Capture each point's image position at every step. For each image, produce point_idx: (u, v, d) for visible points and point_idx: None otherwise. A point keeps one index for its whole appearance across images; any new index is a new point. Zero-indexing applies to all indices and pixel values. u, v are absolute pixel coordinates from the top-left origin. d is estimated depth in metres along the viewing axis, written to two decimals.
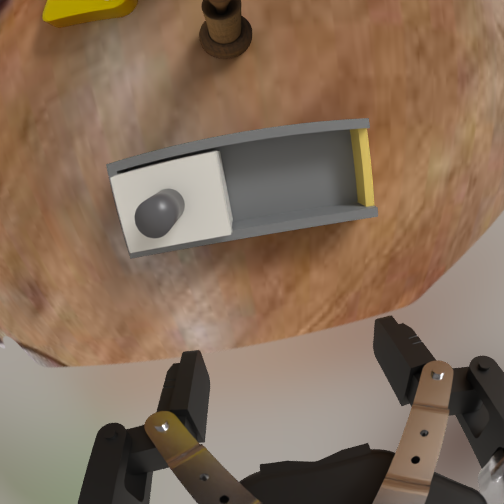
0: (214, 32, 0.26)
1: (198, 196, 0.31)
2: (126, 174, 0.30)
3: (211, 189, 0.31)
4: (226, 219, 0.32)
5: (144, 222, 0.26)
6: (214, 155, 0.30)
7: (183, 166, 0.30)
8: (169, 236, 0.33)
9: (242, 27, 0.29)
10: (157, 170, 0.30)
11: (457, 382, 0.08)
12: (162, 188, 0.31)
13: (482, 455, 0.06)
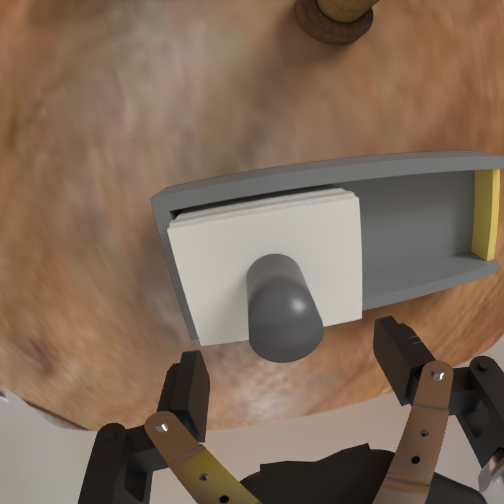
0: (343, 1, 0.14)
1: (325, 267, 0.19)
2: (199, 226, 0.18)
3: (346, 256, 0.19)
4: (360, 299, 0.20)
5: (268, 340, 0.14)
6: (357, 203, 0.18)
7: (306, 218, 0.18)
8: None
9: None
10: (259, 222, 0.18)
11: (457, 382, 0.08)
12: (266, 253, 0.19)
13: (482, 455, 0.06)
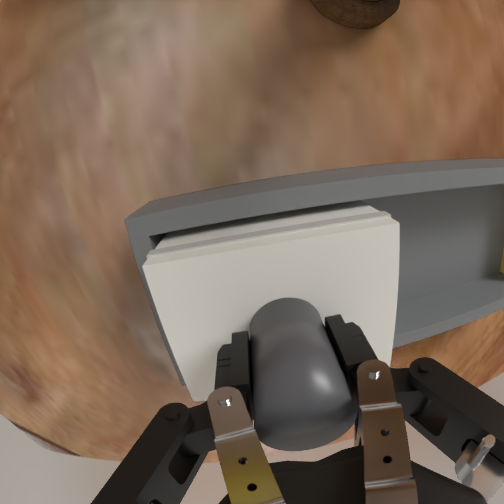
0: None
1: (351, 311, 0.14)
2: (185, 262, 0.13)
3: (379, 297, 0.14)
4: (390, 345, 0.15)
5: (281, 431, 0.09)
6: (397, 229, 0.13)
7: (331, 251, 0.13)
8: None
9: None
10: (267, 257, 0.13)
11: (396, 382, 0.09)
12: (276, 297, 0.14)
13: (449, 449, 0.07)
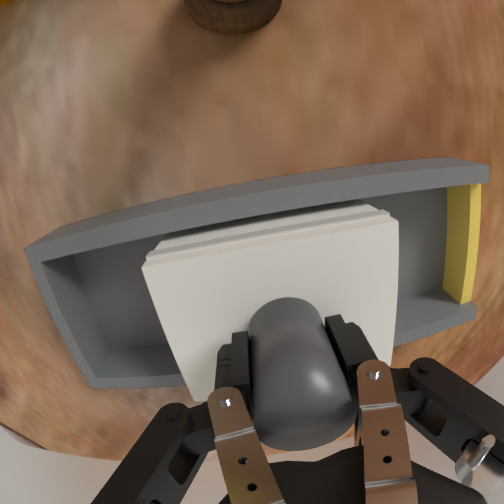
0: None
1: (351, 311, 0.14)
2: (184, 262, 0.13)
3: (378, 296, 0.14)
4: (390, 344, 0.15)
5: (281, 431, 0.09)
6: (396, 228, 0.13)
7: (329, 250, 0.13)
8: None
9: None
10: (266, 257, 0.13)
11: (396, 382, 0.09)
12: (275, 297, 0.14)
13: (449, 449, 0.07)
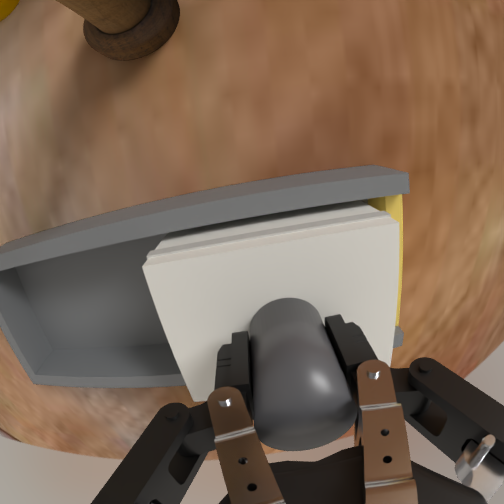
0: (81, 15, 0.10)
1: (352, 311, 0.14)
2: (185, 262, 0.13)
3: (379, 297, 0.14)
4: (390, 345, 0.15)
5: (281, 431, 0.09)
6: (397, 229, 0.13)
7: (330, 251, 0.13)
8: None
9: None
10: (267, 257, 0.13)
11: (396, 382, 0.09)
12: (276, 297, 0.14)
13: (449, 449, 0.07)
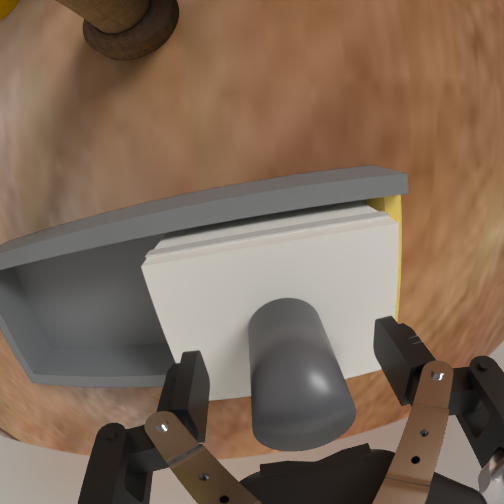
0: (80, 14, 0.10)
1: (350, 312, 0.14)
2: (183, 262, 0.13)
3: (378, 298, 0.14)
4: None
5: (279, 432, 0.09)
6: (396, 230, 0.13)
7: (329, 251, 0.13)
8: None
9: None
10: (266, 257, 0.13)
11: (457, 382, 0.08)
12: (275, 297, 0.14)
13: (482, 455, 0.06)
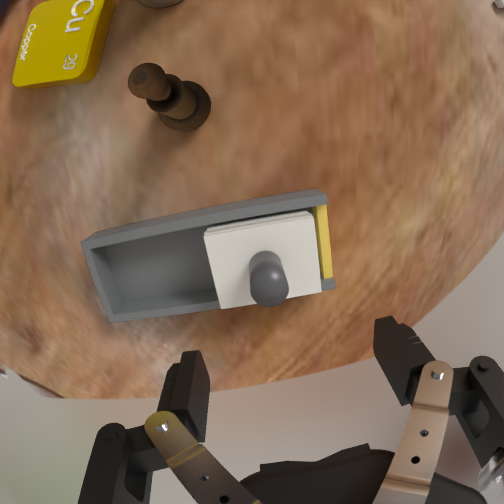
0: None
1: (295, 258, 0.34)
2: (222, 234, 0.32)
3: (308, 252, 0.33)
4: (319, 278, 0.34)
5: (260, 292, 0.28)
6: (313, 220, 0.32)
7: (282, 230, 0.32)
8: None
9: (198, 99, 0.32)
10: (256, 232, 0.32)
11: (457, 382, 0.08)
12: (260, 250, 0.33)
13: (482, 455, 0.06)
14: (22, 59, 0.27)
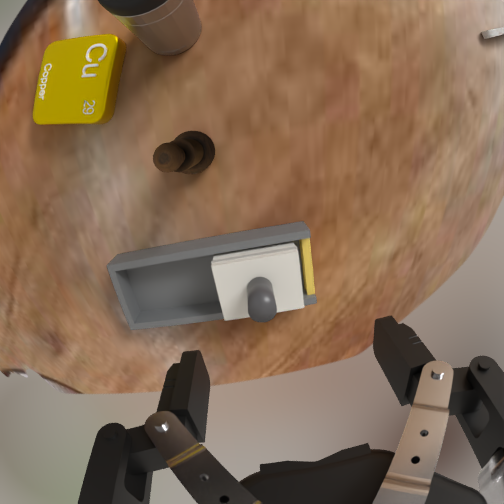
0: None
1: (283, 282, 0.43)
2: (226, 264, 0.41)
3: (293, 277, 0.42)
4: (302, 297, 0.44)
5: (255, 312, 0.37)
6: (297, 254, 0.41)
7: (273, 261, 0.41)
8: None
9: (204, 149, 0.41)
10: (252, 263, 0.41)
11: (457, 382, 0.08)
12: (256, 276, 0.42)
13: (482, 455, 0.06)
14: (41, 98, 0.35)
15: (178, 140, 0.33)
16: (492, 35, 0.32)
